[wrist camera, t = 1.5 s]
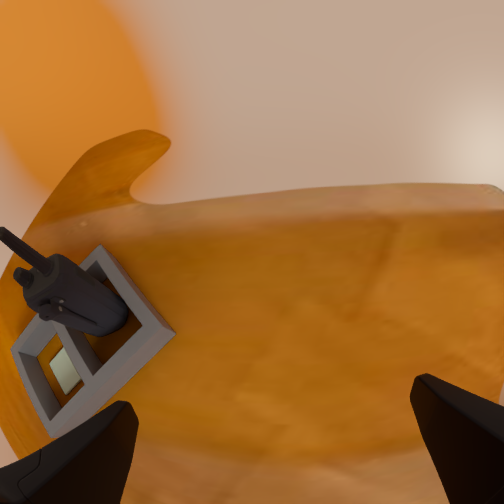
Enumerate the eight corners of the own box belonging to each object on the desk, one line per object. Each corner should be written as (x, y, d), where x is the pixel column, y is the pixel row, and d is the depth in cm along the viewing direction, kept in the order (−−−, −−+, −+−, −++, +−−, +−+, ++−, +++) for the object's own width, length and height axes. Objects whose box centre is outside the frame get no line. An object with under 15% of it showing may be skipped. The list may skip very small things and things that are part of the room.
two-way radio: (127, 292, 24) (18, 198, 11) (139, 334, 22) (9, 261, 9) (85, 313, 24) (-29, 241, 11) (94, 354, 22) (-37, 300, 9)
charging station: (70, 436, 18) (50, 437, 15) (27, 351, 22) (9, 345, 19) (176, 333, 22) (162, 325, 20) (113, 254, 27) (98, 240, 24)
